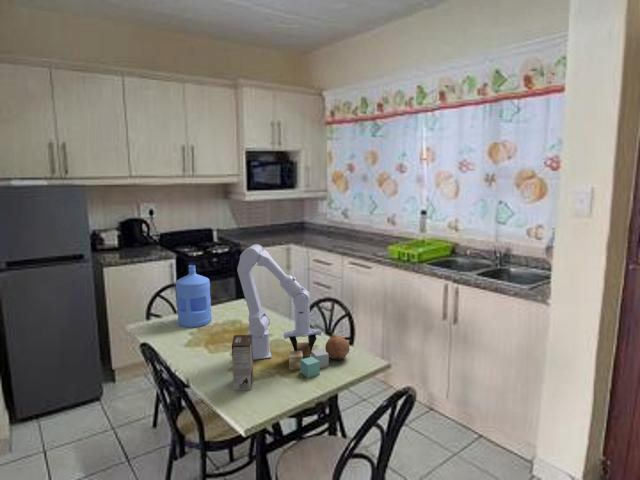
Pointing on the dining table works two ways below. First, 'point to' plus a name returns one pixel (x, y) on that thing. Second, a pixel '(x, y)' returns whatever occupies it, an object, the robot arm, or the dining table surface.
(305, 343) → the walnut cube
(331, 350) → the onion
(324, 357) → the grey cube
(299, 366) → the maple cube
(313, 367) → the teal cube
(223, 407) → the dining table surface
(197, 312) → the water jug
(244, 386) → the coffee box
